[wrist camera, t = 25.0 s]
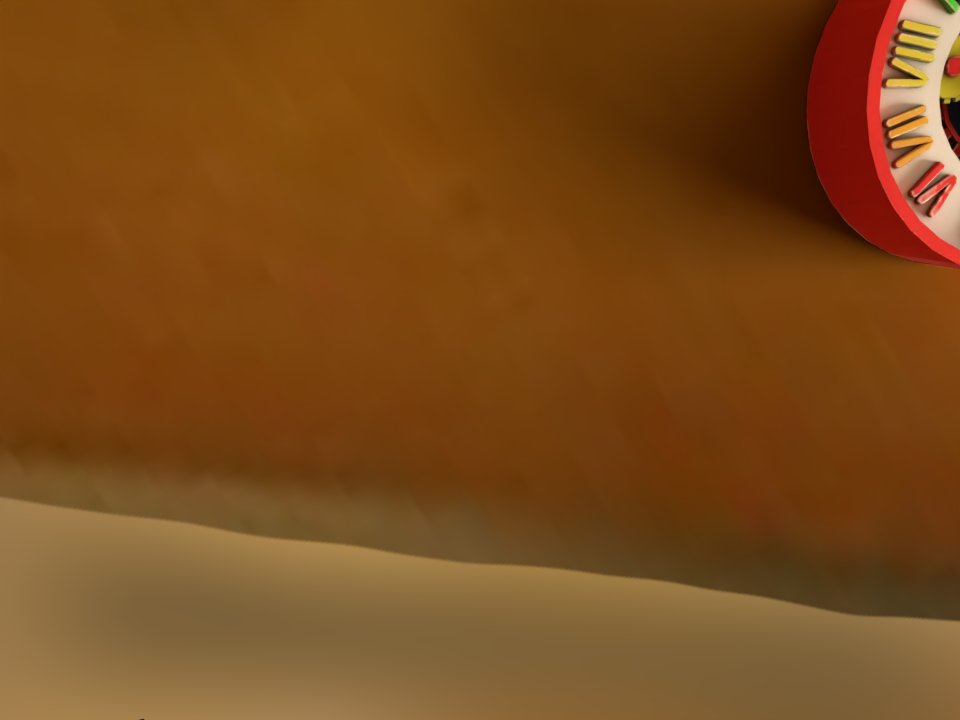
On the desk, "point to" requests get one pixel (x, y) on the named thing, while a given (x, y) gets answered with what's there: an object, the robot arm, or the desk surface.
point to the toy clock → (891, 123)
